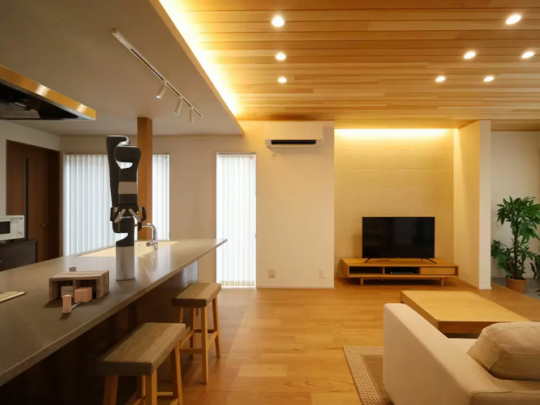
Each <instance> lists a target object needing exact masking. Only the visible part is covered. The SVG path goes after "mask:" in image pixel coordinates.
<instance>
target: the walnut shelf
mask: <svg viewBox="0 0 540 405" xmlns="http://www.w3.org/2000/svg"><path fill="white" fill-rule="evenodd" d="M65 284H73V297H72V300H73V299H75V297H74V291H75V290H77V289H78V288H84V287H92V293H96V299H101V298H102V297H104V296H105V295H106V294H107V293H109V291H110V270H109V269H105V270H83V271H82V270H81V271H79V270H78V271H77V270H76V272H69V271H62V272H59V273H57V274H55V275H53V276H51V277H49V278H48V301H49V302H51V301H52V302H53V301H54V300H56V299H57V298H59V297H61V287H62V286H63V285H65ZM105 293H106V294H105ZM100 297H101V298H100Z"/></svg>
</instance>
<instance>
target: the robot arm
mask: <svg viewBox="0 0 540 405" xmlns="http://www.w3.org/2000/svg"><path fill="white" fill-rule="evenodd" d="M105 147H106V155H107V162H108V170H109V173H108V174H109V190H110V201H111V207H110V209H109V211H110V212H109V221H110V222H111V227H112V228H111V229H112V232H113V233H115V234H126V236H125V237H124V238H121V239H118V240H116V241H115V279H116V280H118V281H123V280H124V281H125V280H132V279H135V277H136V274H135V273H136V271H135V270H136V269H135V268H136V267H135V265H136V264H135V263H136V260H135V258H136V257H135V256H136V255H135V253H136V252H135V250H136V248H135V229H136V221H137V232H141V230H142V229H143V222H144V221H146V220H147V219H148V218H147V216H148V215H147V207H146V206H139V196H138V195H139V190H138V189H139V187H138V186H139V185H138V168H139V164H140V161H141V158H142V150H141V149H140V147H137V146H132V143H131V140H130V138H129V137H128V136H126V135H107V136H106V138H105ZM118 163H126V164H129V163H130V164H131V166H128V167H123V168H121V166H120V165H119V164H118ZM139 211H140V212H141V216H140V215H139V214H138V212H139ZM141 217H142V218H141ZM135 220H136V221H135Z"/></svg>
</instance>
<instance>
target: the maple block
mask: <svg viewBox="0 0 540 405" xmlns="http://www.w3.org/2000/svg"><path fill="white" fill-rule="evenodd" d="M65 295H71V298H73V284H65V285H63V286H62V287H61V296H60V297H61V299H63V296H65Z"/></svg>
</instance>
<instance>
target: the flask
mask: <svg viewBox="0 0 540 405" xmlns="http://www.w3.org/2000/svg"><path fill="white" fill-rule="evenodd" d="M77 268H78V267H77V266H69V267H68V272H77Z"/></svg>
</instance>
